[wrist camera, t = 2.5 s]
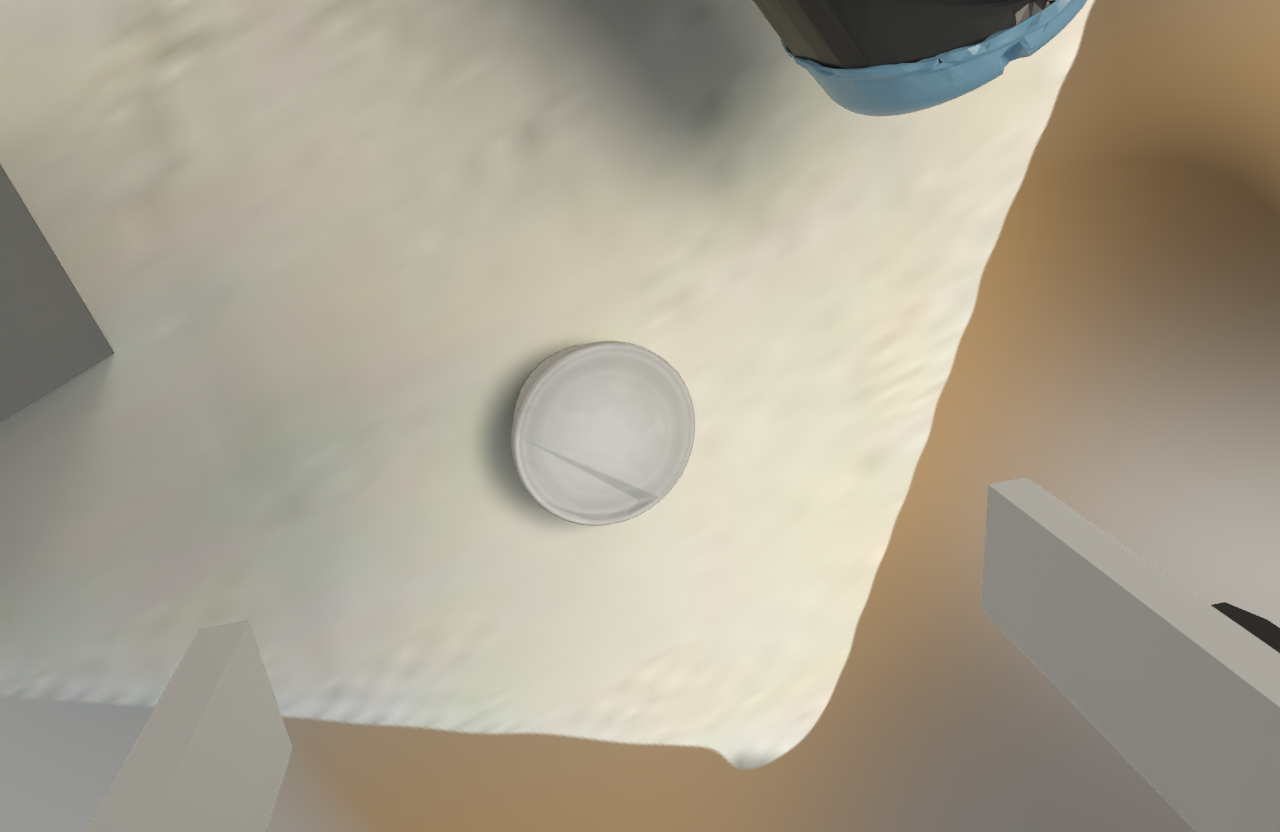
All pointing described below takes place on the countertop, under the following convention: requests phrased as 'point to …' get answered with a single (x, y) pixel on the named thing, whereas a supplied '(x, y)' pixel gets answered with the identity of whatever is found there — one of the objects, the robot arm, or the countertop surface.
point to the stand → (38, 312)
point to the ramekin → (602, 432)
